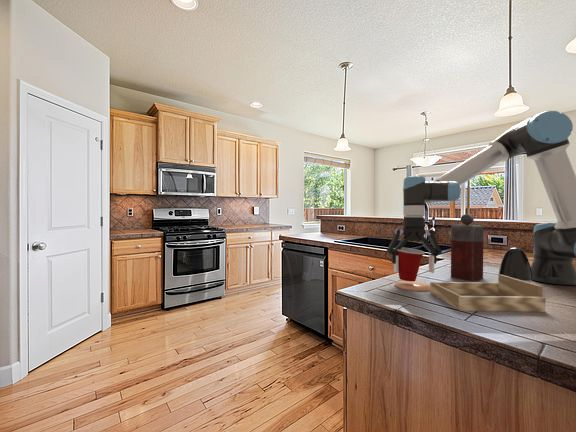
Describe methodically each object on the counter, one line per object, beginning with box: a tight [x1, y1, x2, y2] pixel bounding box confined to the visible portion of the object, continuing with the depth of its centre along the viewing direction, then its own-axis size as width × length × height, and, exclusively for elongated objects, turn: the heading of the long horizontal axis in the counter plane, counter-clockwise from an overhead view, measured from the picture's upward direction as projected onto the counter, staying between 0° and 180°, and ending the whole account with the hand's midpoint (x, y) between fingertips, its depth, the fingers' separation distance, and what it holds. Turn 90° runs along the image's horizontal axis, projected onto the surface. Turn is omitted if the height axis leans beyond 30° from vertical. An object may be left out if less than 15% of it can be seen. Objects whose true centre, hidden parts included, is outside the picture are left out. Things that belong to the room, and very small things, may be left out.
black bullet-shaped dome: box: [498, 246, 533, 283], centre depth 109 cm, size 10×10×15 cm
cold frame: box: [429, 274, 546, 313], centre depth 89 cm, size 24×18×7 cm
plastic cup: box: [396, 246, 426, 282], centre depth 108 cm, size 11×11×12 cm
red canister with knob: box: [450, 213, 484, 282], centre depth 120 cm, size 9×11×28 cm
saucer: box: [394, 280, 430, 292], centre depth 108 cm, size 13×13×1 cm
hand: (413, 272), depth 108 cm, fingers open, 13 cm apart
